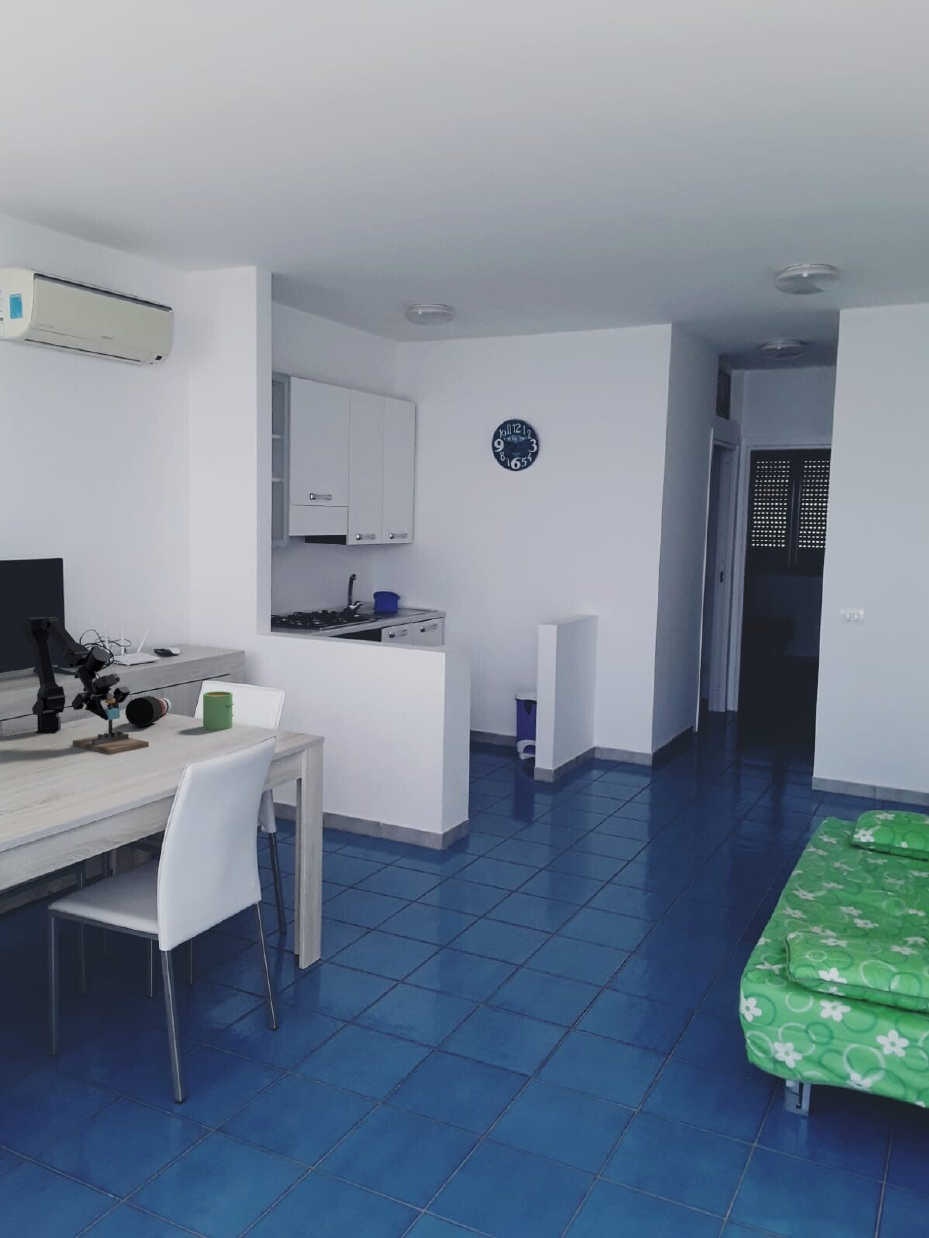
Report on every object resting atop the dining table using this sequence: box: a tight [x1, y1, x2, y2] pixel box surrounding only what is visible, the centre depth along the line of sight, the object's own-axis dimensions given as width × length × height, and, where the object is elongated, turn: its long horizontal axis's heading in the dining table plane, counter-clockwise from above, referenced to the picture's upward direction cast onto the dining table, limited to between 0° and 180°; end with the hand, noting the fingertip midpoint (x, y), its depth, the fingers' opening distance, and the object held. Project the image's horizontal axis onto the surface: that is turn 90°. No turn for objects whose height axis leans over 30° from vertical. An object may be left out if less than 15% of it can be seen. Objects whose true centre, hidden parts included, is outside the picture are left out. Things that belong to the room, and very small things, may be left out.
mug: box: [202, 690, 234, 731], centre depth 354 cm, size 13×10×12 cm
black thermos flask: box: [124, 695, 172, 727], centre depth 364 cm, size 10×34×10 cm, turn 0°
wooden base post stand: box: [72, 692, 150, 755], centre depth 320 cm, size 20×14×17 cm
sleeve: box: [100, 707, 121, 721], centre depth 320 cm, size 4×4×3 cm
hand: (113, 718), depth 319 cm, fingers closed on sleeve, 4 cm apart
